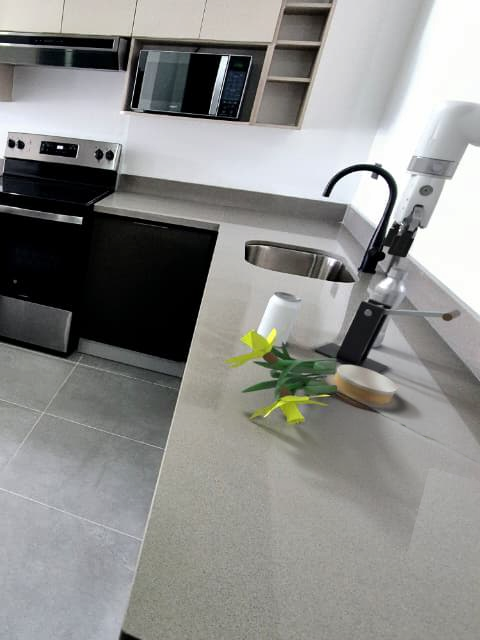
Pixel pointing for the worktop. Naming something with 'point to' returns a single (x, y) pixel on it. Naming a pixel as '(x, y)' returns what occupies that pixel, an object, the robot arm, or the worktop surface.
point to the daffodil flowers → (286, 375)
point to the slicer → (360, 337)
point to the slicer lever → (424, 313)
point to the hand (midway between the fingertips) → (393, 251)
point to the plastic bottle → (390, 295)
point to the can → (280, 316)
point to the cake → (363, 386)
